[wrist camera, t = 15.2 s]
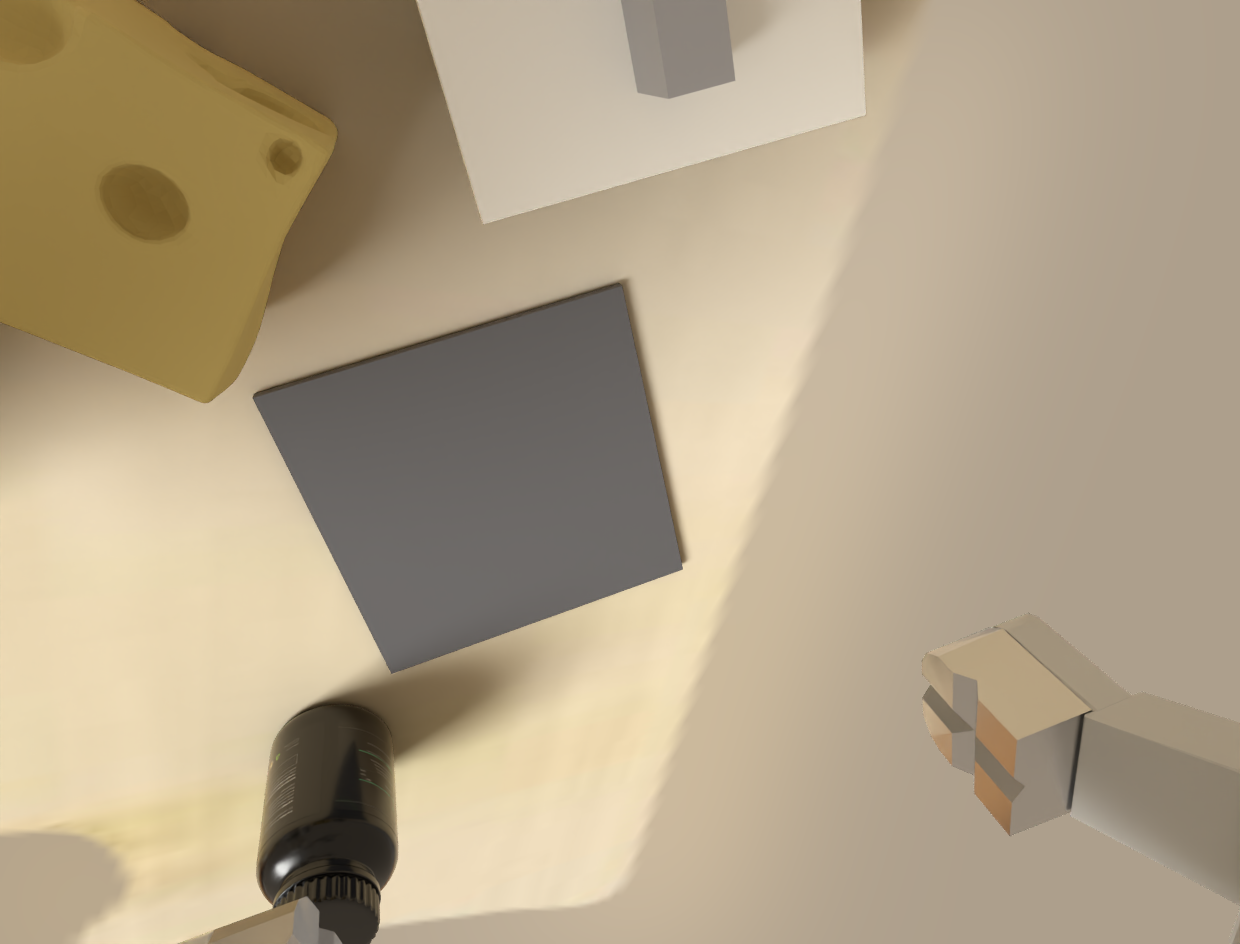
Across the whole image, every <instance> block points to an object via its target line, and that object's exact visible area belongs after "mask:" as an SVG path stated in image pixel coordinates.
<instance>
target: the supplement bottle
mask: <svg viewBox="0 0 1240 944" xmlns="http://www.w3.org/2000/svg"><path fill="white" fill-rule="evenodd" d="M397 860H398V833H397V813H396V793H395V773H394V753H393V742H392V736H391V733H390V731H389V729H388V727H387V726H386V724H385V723H384V722H383V721H382V720H381V719H380V718H379V717H378V716H377V715H375V714H374V713H372V712H370V711H368V710H366V709H364V708H361V707H357V706H353V705H345V704H334V705H325V706H320V707H317V708H313V709H311V710H308V711H306V712H304V713H302V714H300V715H298V716H296V717H295V718H293V719H292V720H291V721H289V722H288V723H287V724H286V725H285V726H284V727H283V728H282V729H281V730H280V732H279V733H278V735H277V736H276V738H275V740H274V742H273V745H272V749H271V754H270V760H269V767H268V775H267V783H266V791H265V799H264V808H263V816H262V824H261V832H260V840H259V848H258V857H257V867H256V876H257V882H258V885H259V888H260V890H261V892H262V894H263V895H264V897H265V898H266V899H267V900H268V901H269V902H270V903H271V904H272V905H273V908H276V907H279V906H281V905H284V904H287V903H290V902H293V901H295V900H298V899H301V898H304V897H306V896H307V897H308V898H309V899H310V900H311V902H312V903H313V904H314V905H315V907H316V908H317V909H318V910H319V928H322V929H325V930H329V931H333V932H335V934H336V935H337V936H338V938H339V939H340V941H341V942H342V944H370V943H371V940H372V939H373V938H374V937H375V935H376V933H377V931H378V929H379V923H380V900H381V894H380V891H381V890H382V889H383V888H384V887H385V886H386V884H387V883H388V881H389V880H390V878H391V876H392V874H393V872H394V870H395V867H396V864H397Z"/></svg>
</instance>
